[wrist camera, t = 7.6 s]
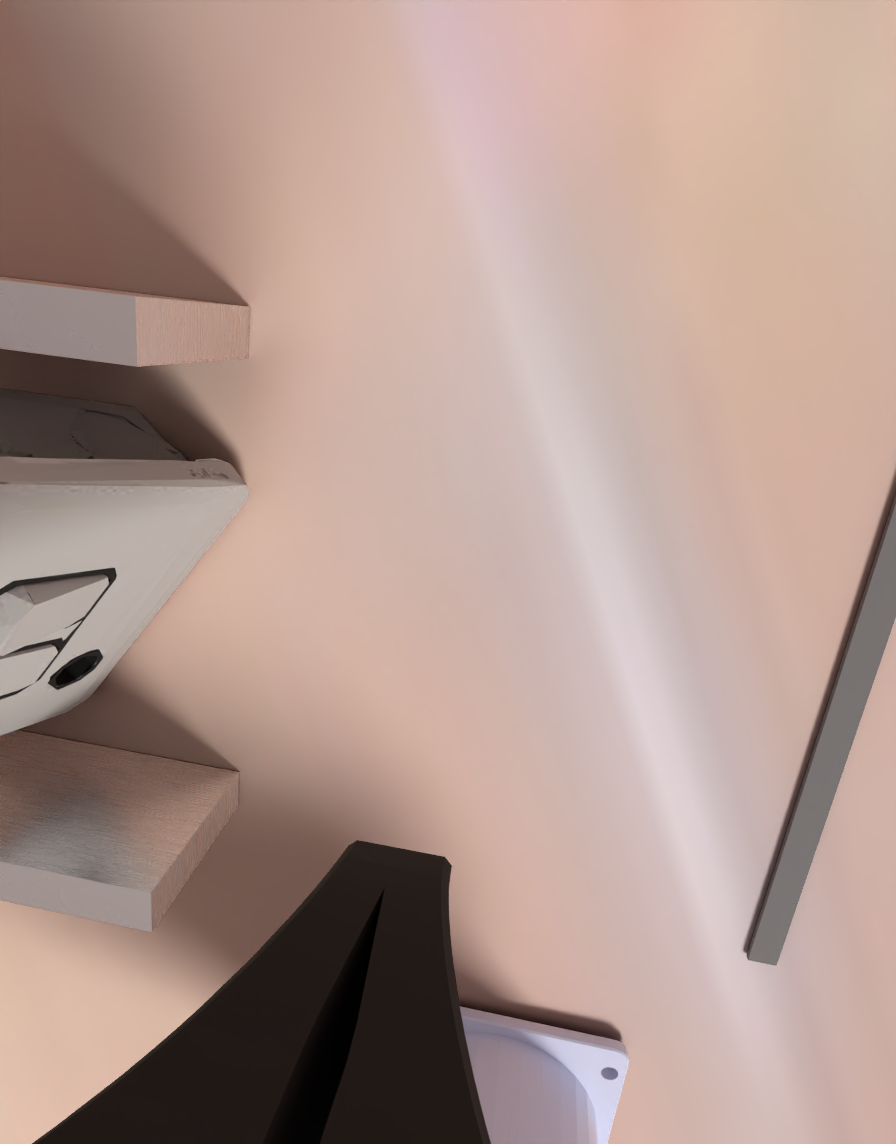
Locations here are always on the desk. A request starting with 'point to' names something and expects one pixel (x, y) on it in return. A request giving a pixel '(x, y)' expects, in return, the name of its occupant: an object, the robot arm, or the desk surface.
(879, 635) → the long thin gray rod
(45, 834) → the bracket
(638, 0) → the desk surface
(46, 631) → the electrical switch
